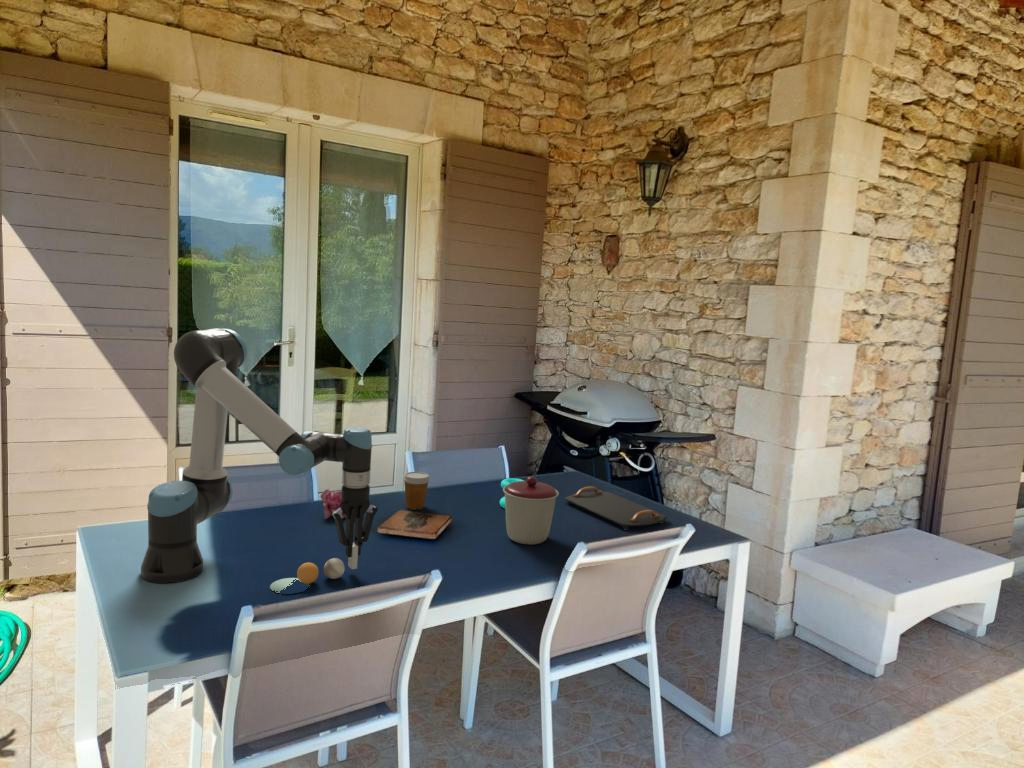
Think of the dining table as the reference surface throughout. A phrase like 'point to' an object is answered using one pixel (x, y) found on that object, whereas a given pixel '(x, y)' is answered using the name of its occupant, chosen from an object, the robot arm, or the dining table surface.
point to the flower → (331, 502)
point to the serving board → (615, 508)
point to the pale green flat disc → (282, 584)
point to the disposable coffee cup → (415, 489)
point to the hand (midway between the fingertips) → (352, 567)
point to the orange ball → (307, 573)
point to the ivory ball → (334, 568)
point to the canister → (529, 510)
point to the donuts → (503, 484)
